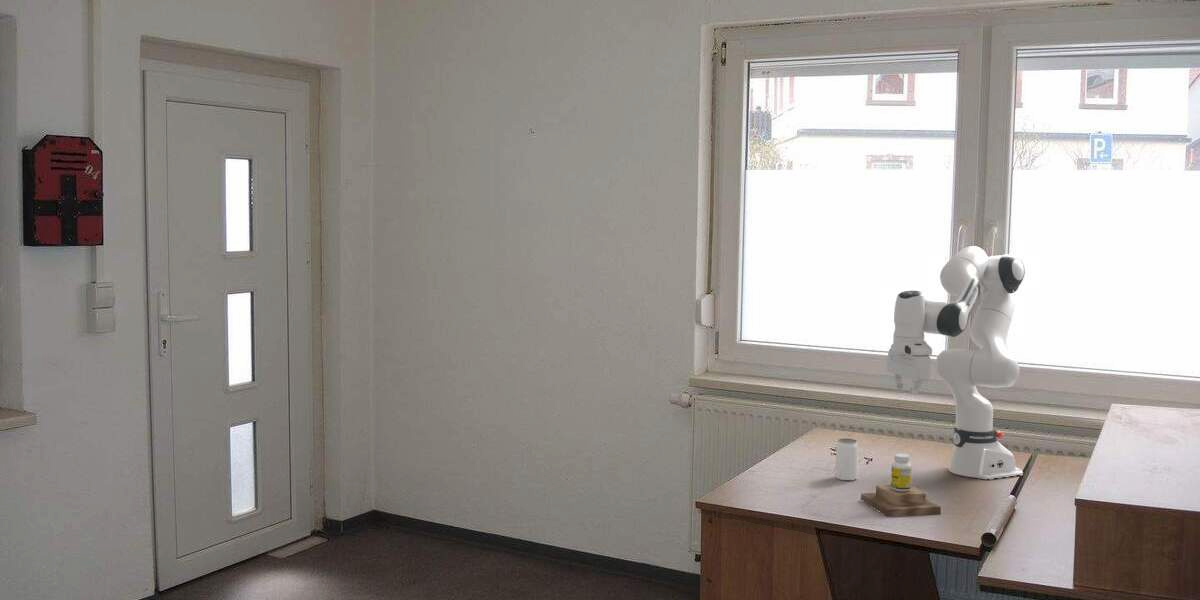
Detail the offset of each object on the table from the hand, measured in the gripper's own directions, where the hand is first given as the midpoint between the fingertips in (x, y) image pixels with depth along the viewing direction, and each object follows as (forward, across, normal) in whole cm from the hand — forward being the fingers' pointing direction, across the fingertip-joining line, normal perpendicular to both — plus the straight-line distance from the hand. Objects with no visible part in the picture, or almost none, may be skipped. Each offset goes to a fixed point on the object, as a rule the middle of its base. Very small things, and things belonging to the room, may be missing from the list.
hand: (906, 391), depth 311 cm
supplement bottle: (+24, +19, -11) cm, 33 cm away
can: (+29, -12, -13) cm, 34 cm away
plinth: (+29, +19, -11) cm, 36 cm away
